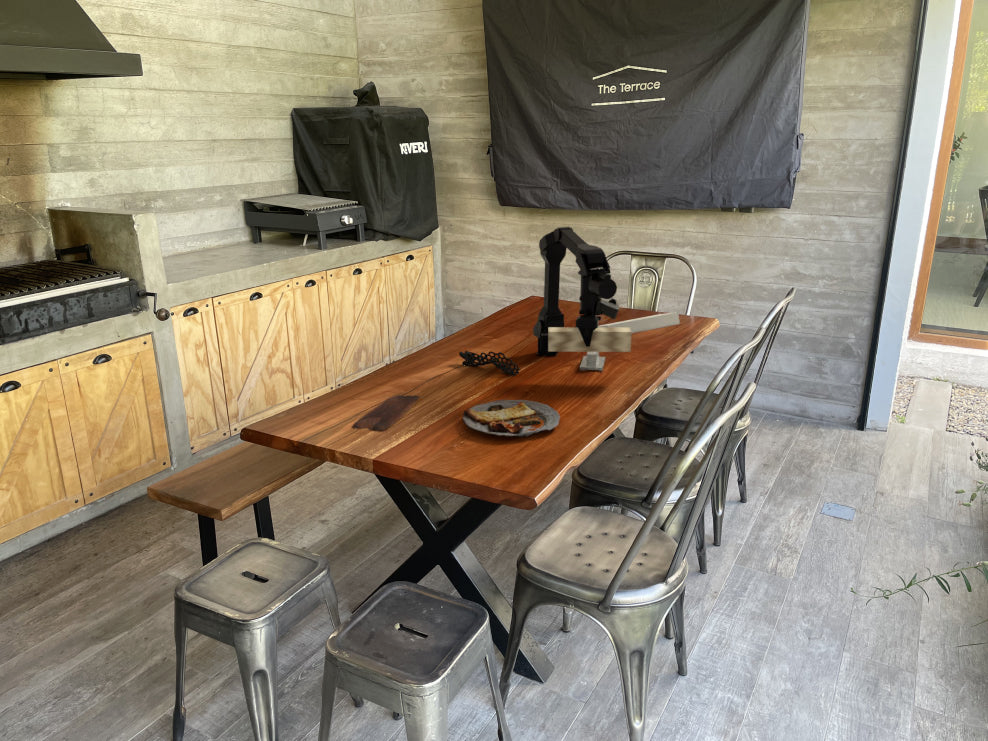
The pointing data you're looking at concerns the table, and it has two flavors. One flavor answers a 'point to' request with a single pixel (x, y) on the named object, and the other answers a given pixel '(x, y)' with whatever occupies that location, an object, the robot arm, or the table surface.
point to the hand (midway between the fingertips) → (589, 344)
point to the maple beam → (600, 342)
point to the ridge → (592, 362)
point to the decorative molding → (647, 322)
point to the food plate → (510, 417)
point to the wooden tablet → (386, 413)
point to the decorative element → (489, 361)
